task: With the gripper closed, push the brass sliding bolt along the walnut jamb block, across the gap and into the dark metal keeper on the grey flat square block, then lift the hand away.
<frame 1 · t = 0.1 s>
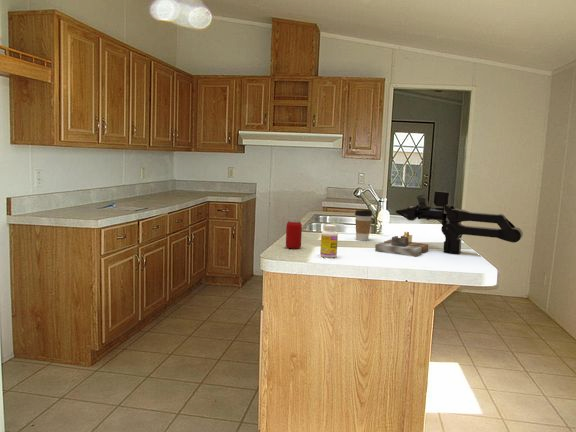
hand: (399, 210, 229), 17 cm above the counter, tool horizontal, fingers open, 9 cm apart
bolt: (406, 237, 221), point 6 cm above the counter, slide at 0.0 cm
coffee cup: (362, 240, 245), on the counter
supplement bottle: (328, 257, 199), on the counter
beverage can: (293, 248, 216), on the counter
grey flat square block: (401, 250, 218), on the counter
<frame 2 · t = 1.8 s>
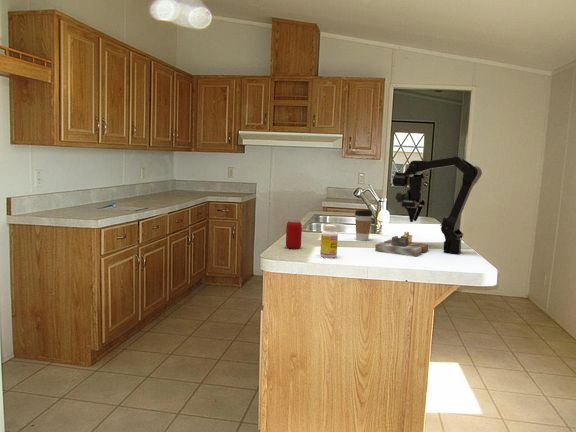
hand: (413, 221, 228), 12 cm above the counter, tool pointing down, fingers open, 5 cm apart
nothing on the counter moved.
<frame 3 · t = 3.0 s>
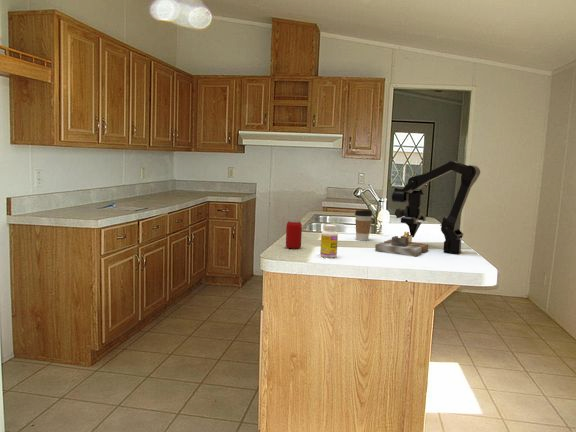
hand: (412, 237, 228), 5 cm above the counter, tool pointing down, fingers closed
nothing on the counter moved.
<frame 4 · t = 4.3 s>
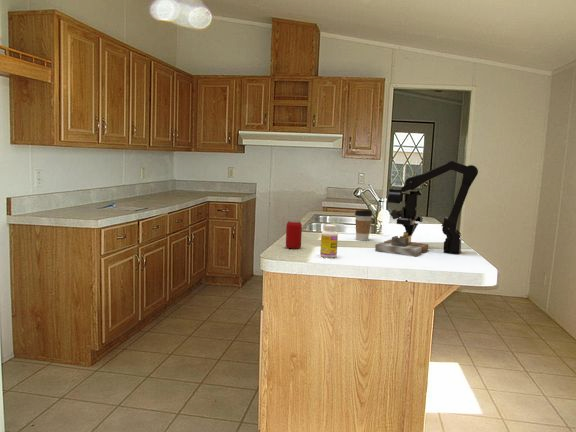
hand: (408, 238, 224), 5 cm above the counter, tool pointing down, fingers closed
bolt: (405, 237, 220), point 6 cm above the counter, slide at 1.2 cm, touching gripper
everything else where it was.
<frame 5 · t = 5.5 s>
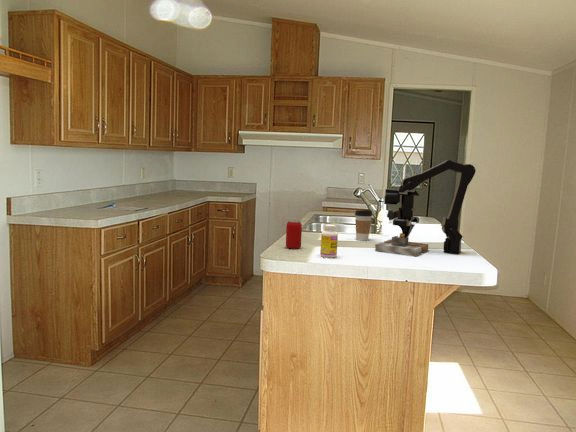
hand: (405, 239, 220), 5 cm above the counter, tool pointing down, fingers closed
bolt: (401, 238, 216), point 6 cm above the counter, slide at 6.0 cm, touching gripper
everything else where it was.
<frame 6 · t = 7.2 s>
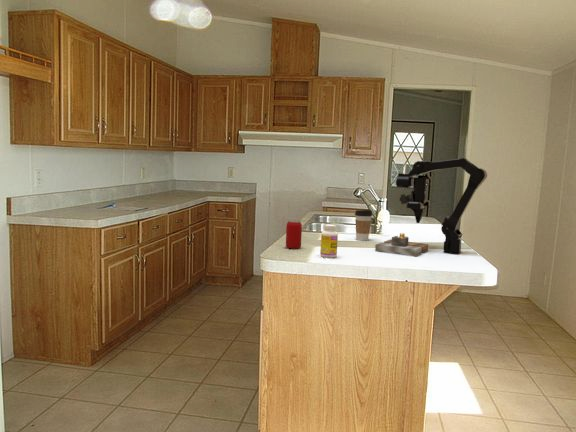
hand: (417, 223, 225), 12 cm above the counter, tool pointing down, fingers closed
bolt: (401, 238, 216), point 6 cm above the counter, slide at 6.0 cm
everything else where it was.
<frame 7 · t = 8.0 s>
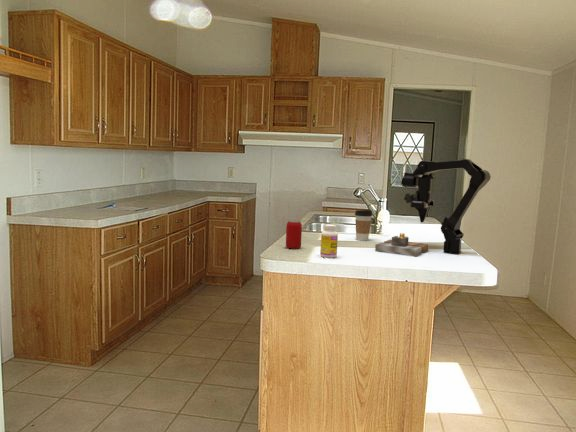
hand: (422, 222, 226), 12 cm above the counter, tool pointing down, fingers closed
nothing on the counter moved.
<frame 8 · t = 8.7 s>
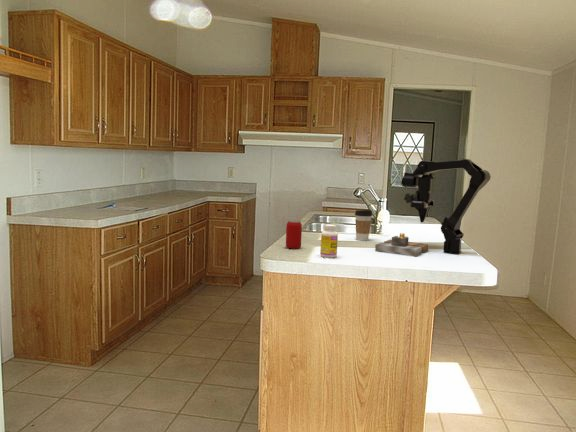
hand: (422, 222, 226), 12 cm above the counter, tool pointing down, fingers closed
nothing on the counter moved.
at the end: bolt slide at 6.0 cm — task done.
